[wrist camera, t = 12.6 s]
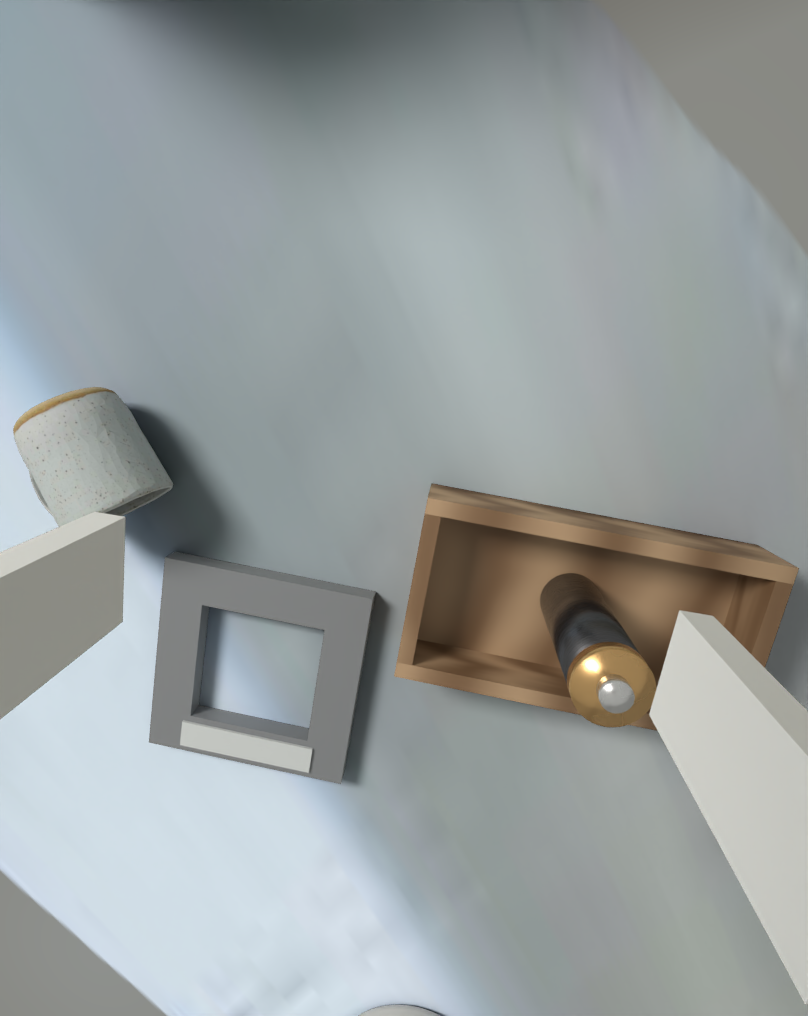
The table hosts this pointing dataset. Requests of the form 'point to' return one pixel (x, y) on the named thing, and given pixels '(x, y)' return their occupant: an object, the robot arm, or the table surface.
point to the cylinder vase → (398, 1011)
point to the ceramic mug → (88, 456)
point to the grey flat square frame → (273, 597)
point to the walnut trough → (558, 550)
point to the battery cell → (596, 653)
